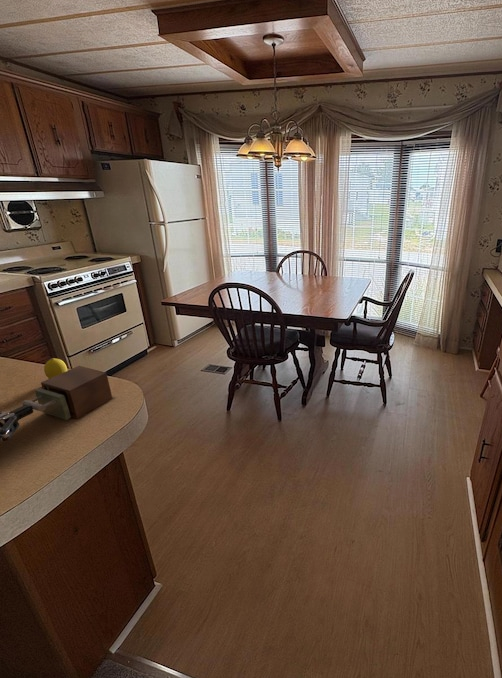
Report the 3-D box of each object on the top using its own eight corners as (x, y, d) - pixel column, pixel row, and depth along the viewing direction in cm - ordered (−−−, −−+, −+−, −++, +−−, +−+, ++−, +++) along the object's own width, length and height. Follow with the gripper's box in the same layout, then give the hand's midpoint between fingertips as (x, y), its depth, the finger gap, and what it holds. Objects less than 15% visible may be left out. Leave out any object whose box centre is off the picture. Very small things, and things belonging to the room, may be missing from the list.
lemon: (68, 375, 111) (61, 352, 108) (71, 381, 107) (65, 358, 104) (46, 380, 107) (39, 357, 104) (49, 387, 104) (42, 364, 101)
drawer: (49, 429, 85) (41, 406, 82) (24, 420, 87) (15, 398, 85) (100, 401, 97) (94, 380, 94) (76, 394, 99) (70, 373, 97)
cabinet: (77, 418, 90) (69, 390, 87) (49, 409, 93) (40, 382, 90) (112, 398, 100) (106, 372, 96) (86, 390, 103) (79, 365, 99)
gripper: (-75, 459, 72) (17, 414, 87) (-36, 477, 68) (53, 426, 83) (-90, 430, 69) (7, 389, 85) (-51, 447, 65) (45, 400, 81)
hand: (30, 408), depth 84 cm, fingers closed
